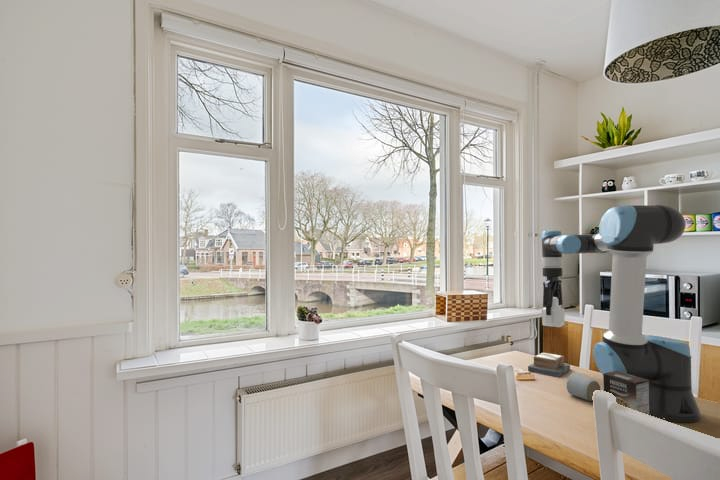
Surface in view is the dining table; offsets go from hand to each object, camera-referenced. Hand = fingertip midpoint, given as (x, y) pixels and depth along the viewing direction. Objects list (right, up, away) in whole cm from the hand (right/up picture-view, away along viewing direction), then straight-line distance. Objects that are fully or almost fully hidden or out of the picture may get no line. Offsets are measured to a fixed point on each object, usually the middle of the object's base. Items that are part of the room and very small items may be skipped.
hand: (553, 321), depth 169 cm
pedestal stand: (-2, -21, 0) cm, 21 cm away
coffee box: (-7, -20, -58) cm, 61 cm away
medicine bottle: (0, -2, 0) cm, 2 cm away
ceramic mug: (-3, -21, -30) cm, 37 cm away
